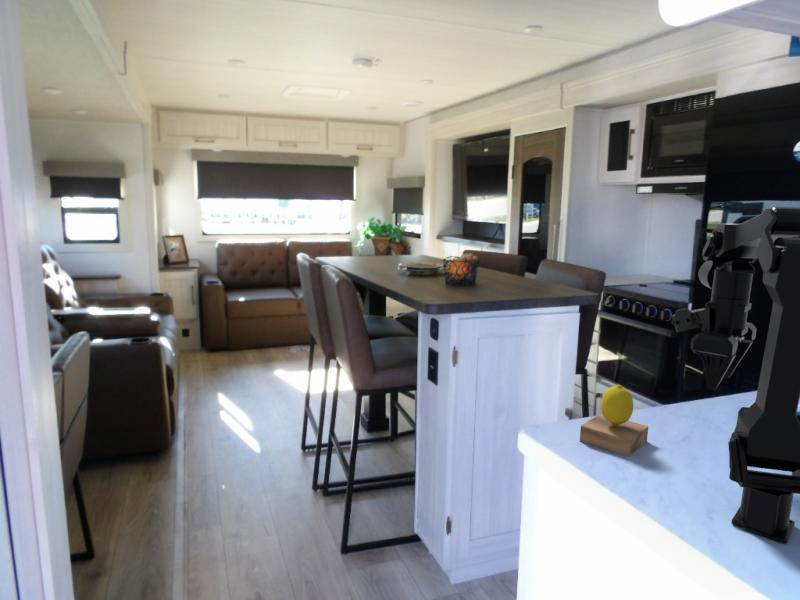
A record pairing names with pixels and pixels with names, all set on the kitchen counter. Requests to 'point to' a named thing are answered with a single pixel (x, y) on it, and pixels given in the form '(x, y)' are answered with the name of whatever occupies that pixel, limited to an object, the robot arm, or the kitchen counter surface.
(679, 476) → the kitchen counter surface
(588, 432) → the walnut block
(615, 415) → the lemon
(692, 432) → the kitchen counter surface
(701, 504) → the kitchen counter surface
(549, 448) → the kitchen counter surface
